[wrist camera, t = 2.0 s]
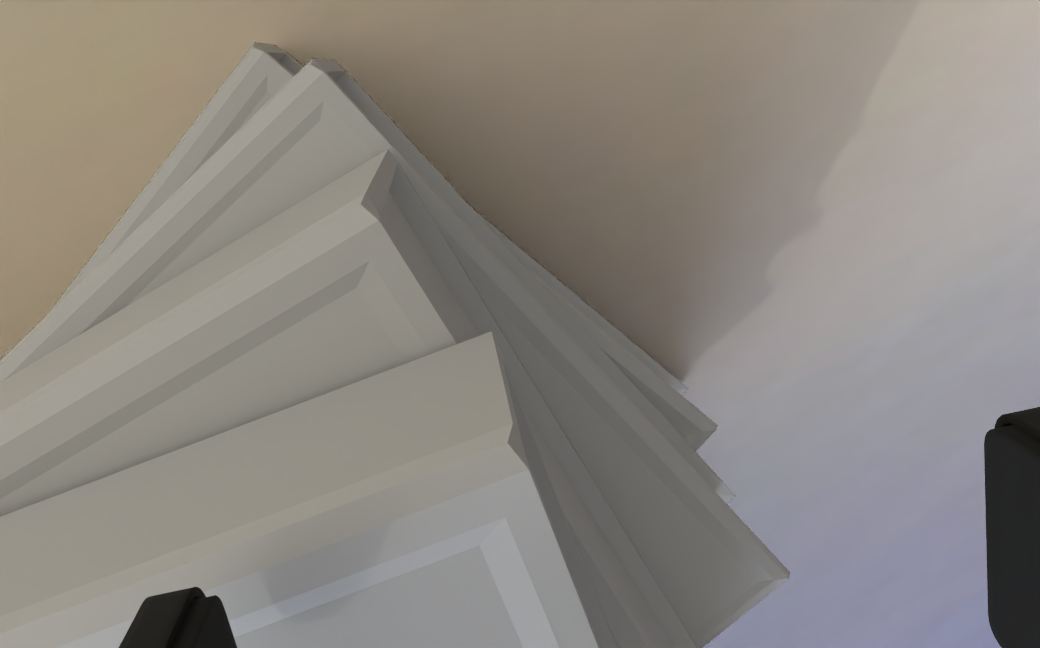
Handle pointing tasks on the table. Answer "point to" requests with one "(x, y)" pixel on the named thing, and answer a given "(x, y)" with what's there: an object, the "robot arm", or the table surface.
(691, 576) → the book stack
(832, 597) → the table surface
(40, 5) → the table surface
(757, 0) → the table surface
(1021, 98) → the table surface
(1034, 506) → the robot arm
